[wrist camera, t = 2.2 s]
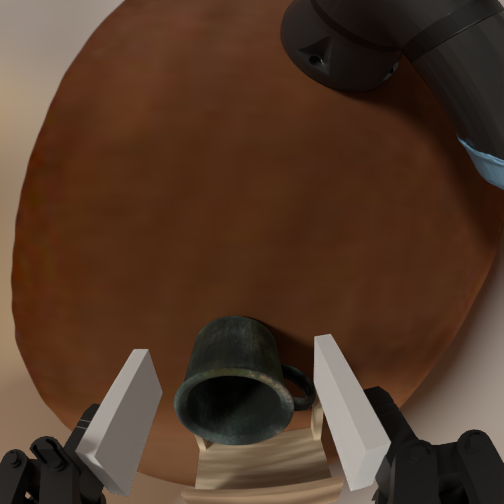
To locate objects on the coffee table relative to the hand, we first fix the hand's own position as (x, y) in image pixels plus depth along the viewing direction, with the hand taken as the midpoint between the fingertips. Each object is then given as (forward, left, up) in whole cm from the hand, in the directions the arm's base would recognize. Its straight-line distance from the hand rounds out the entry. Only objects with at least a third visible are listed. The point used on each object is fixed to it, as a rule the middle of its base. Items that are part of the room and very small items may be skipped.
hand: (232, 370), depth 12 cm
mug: (+12, 0, -20) cm, 24 cm away
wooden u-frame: (+26, 0, -20) cm, 33 cm away
